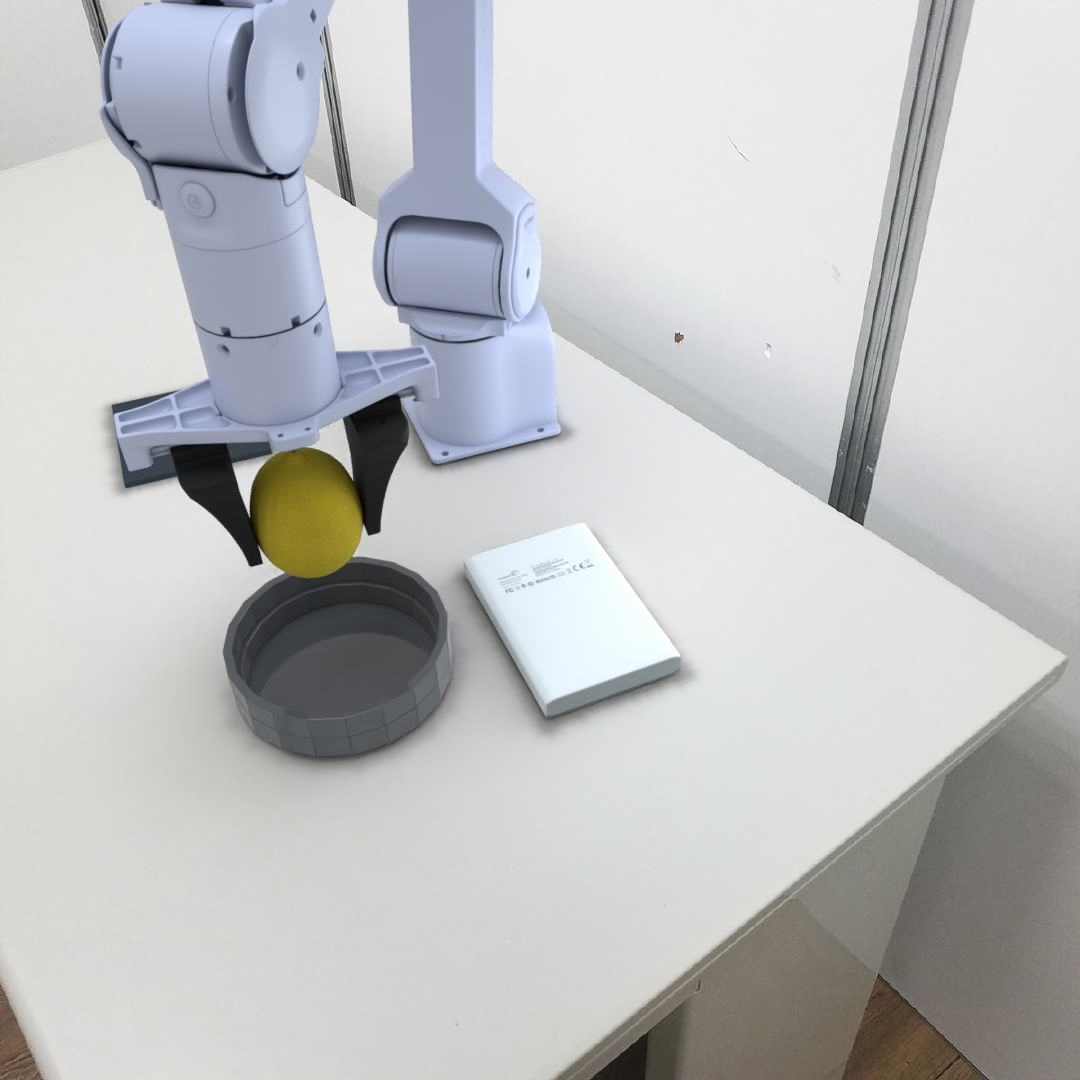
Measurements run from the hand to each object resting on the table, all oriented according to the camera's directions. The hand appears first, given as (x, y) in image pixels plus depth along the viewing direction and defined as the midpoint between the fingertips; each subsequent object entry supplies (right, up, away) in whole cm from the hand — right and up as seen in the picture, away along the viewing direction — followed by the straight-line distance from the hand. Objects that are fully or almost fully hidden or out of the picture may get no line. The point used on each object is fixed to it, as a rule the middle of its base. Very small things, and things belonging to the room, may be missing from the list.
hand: (311, 538), depth 57 cm
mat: (-13, +8, +23) cm, 28 cm away
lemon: (0, -2, +2) cm, 3 cm away
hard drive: (+13, -5, +8) cm, 16 cm away
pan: (+1, -8, +5) cm, 9 cm away
